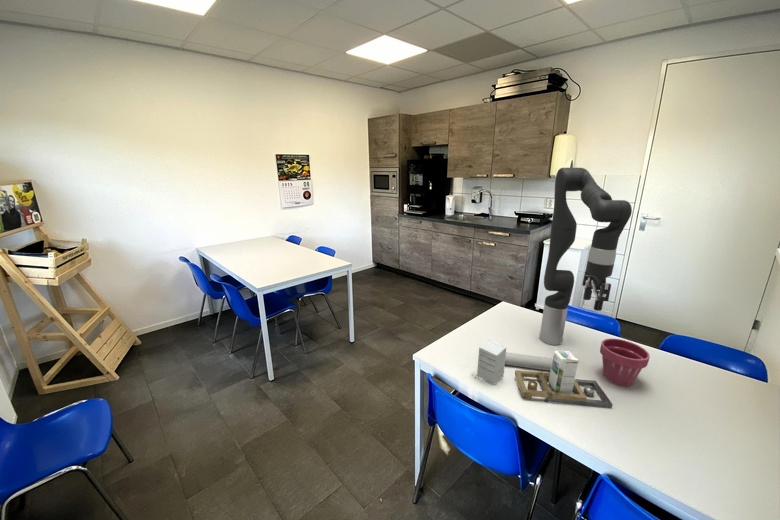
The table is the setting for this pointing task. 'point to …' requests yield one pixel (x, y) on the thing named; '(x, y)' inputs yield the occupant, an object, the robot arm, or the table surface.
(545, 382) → the tan wooden frame
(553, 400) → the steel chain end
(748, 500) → the table surface
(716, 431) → the table surface
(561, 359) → the syrup box
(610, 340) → the plant pot
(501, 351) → the supplement box
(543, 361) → the tube
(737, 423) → the table surface
